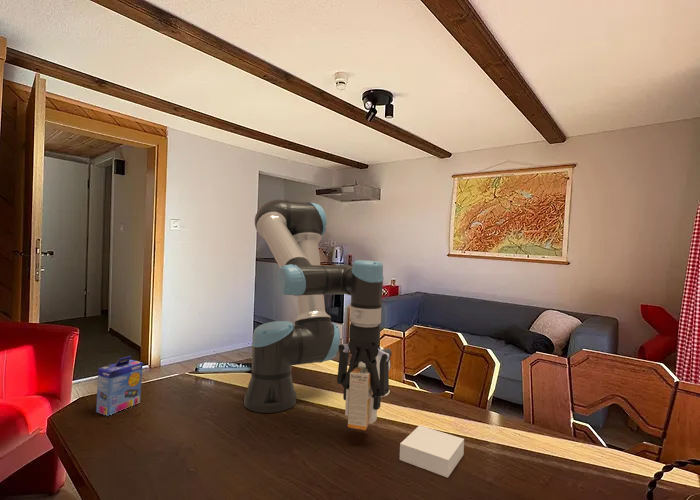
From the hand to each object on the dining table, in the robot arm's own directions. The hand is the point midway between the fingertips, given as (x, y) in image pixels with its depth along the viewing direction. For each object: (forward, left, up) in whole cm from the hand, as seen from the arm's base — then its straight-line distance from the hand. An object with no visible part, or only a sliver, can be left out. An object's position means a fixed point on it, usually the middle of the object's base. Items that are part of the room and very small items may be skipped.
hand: (360, 417), depth 92 cm
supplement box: (0, 0, -1) cm, 1 cm away
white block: (+17, +3, -6) cm, 19 cm away
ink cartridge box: (-63, -25, -5) cm, 68 cm away
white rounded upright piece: (-13, +30, -5) cm, 33 cm away
